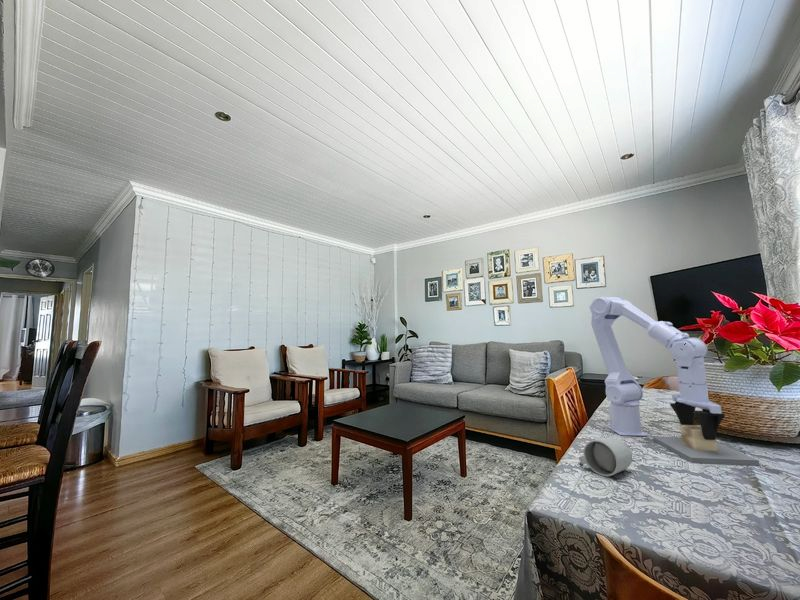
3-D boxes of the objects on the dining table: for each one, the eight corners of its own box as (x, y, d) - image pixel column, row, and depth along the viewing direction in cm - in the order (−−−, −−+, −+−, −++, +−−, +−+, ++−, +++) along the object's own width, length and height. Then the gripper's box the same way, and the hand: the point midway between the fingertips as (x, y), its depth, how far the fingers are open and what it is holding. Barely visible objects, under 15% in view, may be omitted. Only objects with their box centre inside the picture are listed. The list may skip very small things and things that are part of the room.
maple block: (682, 443, 88) (680, 424, 88) (702, 444, 87) (700, 425, 88) (695, 450, 83) (693, 430, 84) (717, 450, 82) (715, 430, 83)
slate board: (653, 441, 94) (652, 436, 94) (708, 442, 91) (707, 438, 92) (691, 462, 78) (691, 457, 78) (759, 465, 76) (758, 460, 76)
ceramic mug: (636, 472, 74) (632, 437, 75) (619, 481, 70) (615, 445, 71) (589, 458, 83) (586, 428, 84) (572, 466, 79) (568, 434, 80)
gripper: (658, 378, 94) (663, 426, 93) (696, 387, 80) (702, 443, 79) (685, 378, 93) (690, 426, 92) (728, 387, 79) (735, 444, 78)
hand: (698, 434), depth 85 cm, fingers open, 7 cm apart
